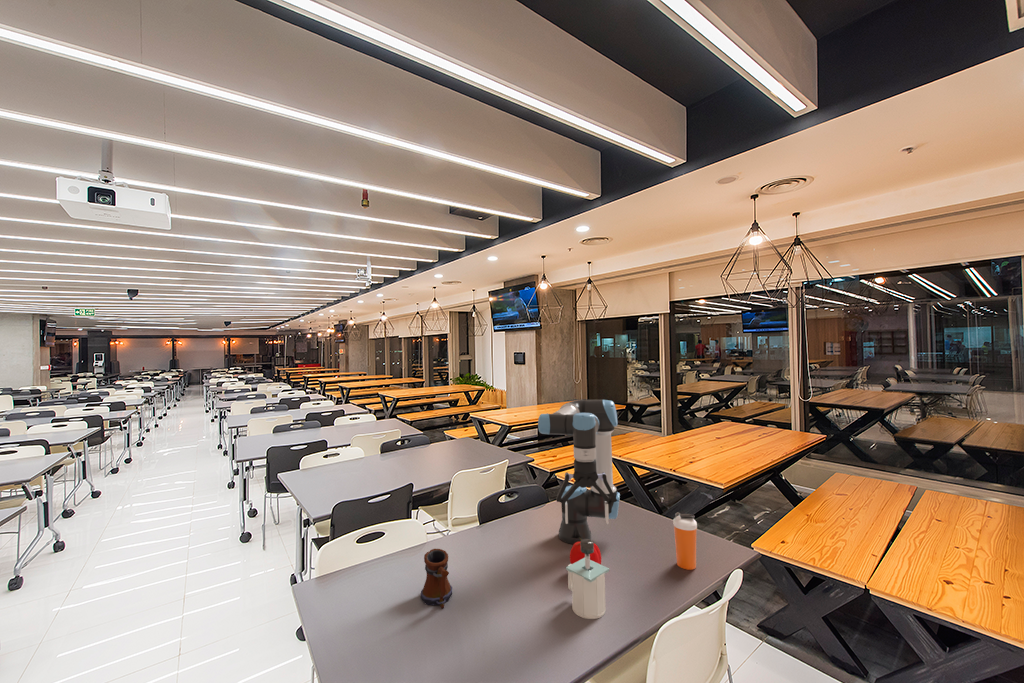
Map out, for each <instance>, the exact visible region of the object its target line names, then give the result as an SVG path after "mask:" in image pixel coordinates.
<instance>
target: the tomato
mask: <svg viewBox="0 0 1024 683" xmlns="http://www.w3.org/2000/svg"><path fill="white" fill-rule="evenodd" d="M580 540H582V539H580ZM583 558H585V553H582V552H581V544H580V542H576V543H575V544H572V546H571V549H570V551H569V562H570V563H569V564H573V563H575V562H577V561H579V560H581V559H583ZM590 560H592V561H594V562H596V563H598V564H601V565H602V554H601V550H600V548H599V546H598V545H597V544H596V543H594V552H593V553H591V554H590Z"/></svg>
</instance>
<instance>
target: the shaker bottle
mask: <svg viewBox="0 0 1024 683" xmlns="http://www.w3.org/2000/svg"><path fill="white" fill-rule="evenodd" d="M674 515H675V517H674V518H673V520H672V523H673V524H672V525H673V531H674V533H673V534H674V541H675V542H674V545H675V555H676V565H677V566H678V567H679V568H681V569H683V570H688V571H692V570H694V569H696V567H697V529H698V522H697V521H696V519H695V515H694V514H691V513H680V512H679V511H678V512H676V513H675V514H674Z"/></svg>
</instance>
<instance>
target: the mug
mask: <svg viewBox="0 0 1024 683" xmlns="http://www.w3.org/2000/svg"><path fill="white" fill-rule="evenodd" d="M423 559H424V561H423V562H424V565H425V567H424V570H425V572H426V578H425V581H424V584H423V588H422V589H421V591H420V600H421V601H422V602H423V604H424V605H427V606H440V608H441V609H445V604H446V603H447V602H449V601H450V599H451V598H452V596H453V586H452V585H451V584H450V582H449V578H448V576H449V574H450V572H449V571H448V567H449V566H448V562H449V553H447V551H446V550H445V549H444V550H443V549H442V548H432V549H430V550H429V551H428V552H426V553H425V554H424V557H423Z"/></svg>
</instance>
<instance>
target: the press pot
mask: <svg viewBox="0 0 1024 683" xmlns="http://www.w3.org/2000/svg"><path fill="white" fill-rule="evenodd" d="M565 569H566V571H567V584H568V585H567V589H568V590H570V591H571V602H572V603H571V609H572V611H573V614H575V615H576V616H577V617H580V618H582V619H584V620H596V619H600V618H602V617H603V616H604V615H605V614H606V578H605V576H606V574H607V573H609V572H610V568H609V567H607V566H605V565H603V564H602V563H601V564H598V563H596V562H594V561H592V560H590V571H587V570H585V558H583V559H581V560H579V561H577V562H575V563H573V564H571V563H569V564H568V565H567V566H566V567H565Z"/></svg>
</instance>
